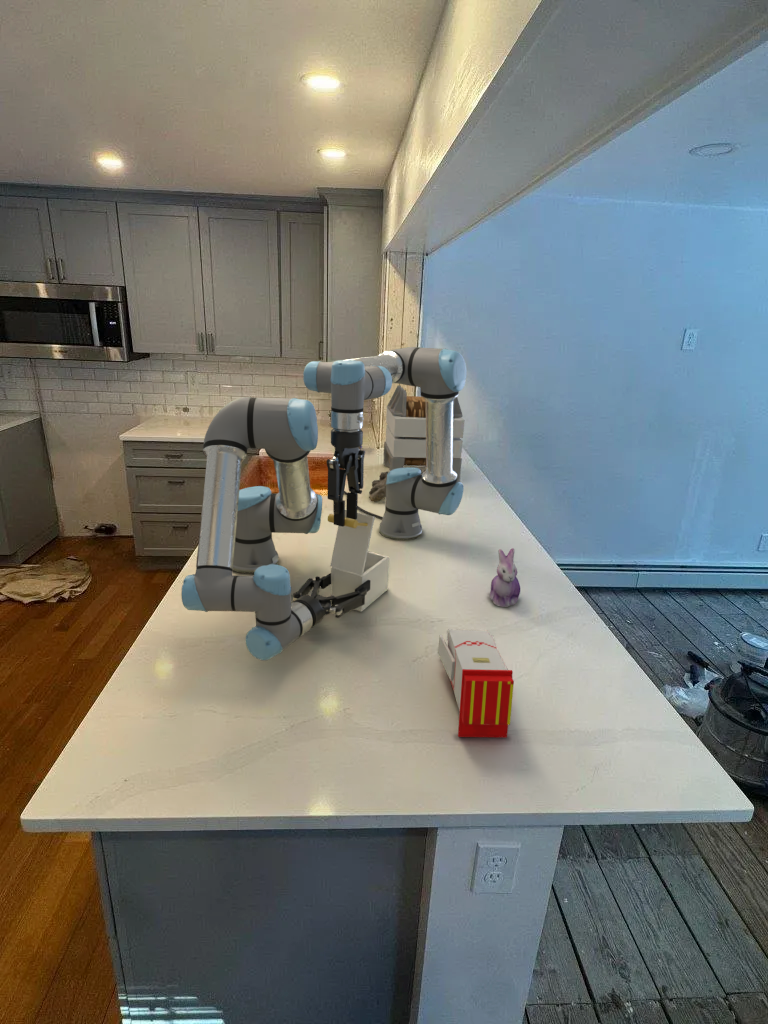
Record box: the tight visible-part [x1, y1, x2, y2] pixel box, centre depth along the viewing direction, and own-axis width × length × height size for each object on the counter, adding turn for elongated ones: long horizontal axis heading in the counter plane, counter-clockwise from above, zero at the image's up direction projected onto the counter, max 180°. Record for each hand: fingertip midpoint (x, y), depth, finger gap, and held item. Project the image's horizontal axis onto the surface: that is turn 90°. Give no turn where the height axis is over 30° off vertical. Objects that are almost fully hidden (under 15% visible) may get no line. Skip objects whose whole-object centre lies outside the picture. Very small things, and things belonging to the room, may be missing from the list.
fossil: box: [368, 471, 389, 503], centre depth 238 cm, size 22×10×15 cm
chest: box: [330, 550, 390, 613], centre depth 154 cm, size 14×10×10 cm, turn 151°
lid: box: [327, 509, 376, 575], centre depth 142 cm, size 15×10×8 cm
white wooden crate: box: [383, 384, 465, 482], centre depth 268 cm, size 34×33×41 cm
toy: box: [437, 628, 515, 738], centre depth 117 cm, size 12×13×30 cm
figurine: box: [489, 547, 521, 608], centre depth 154 cm, size 9×10×15 cm
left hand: (352, 579), depth 150 cm, fingers closed on chest, 10 cm apart
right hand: (345, 521), depth 141 cm, fingers open, 5 cm apart
